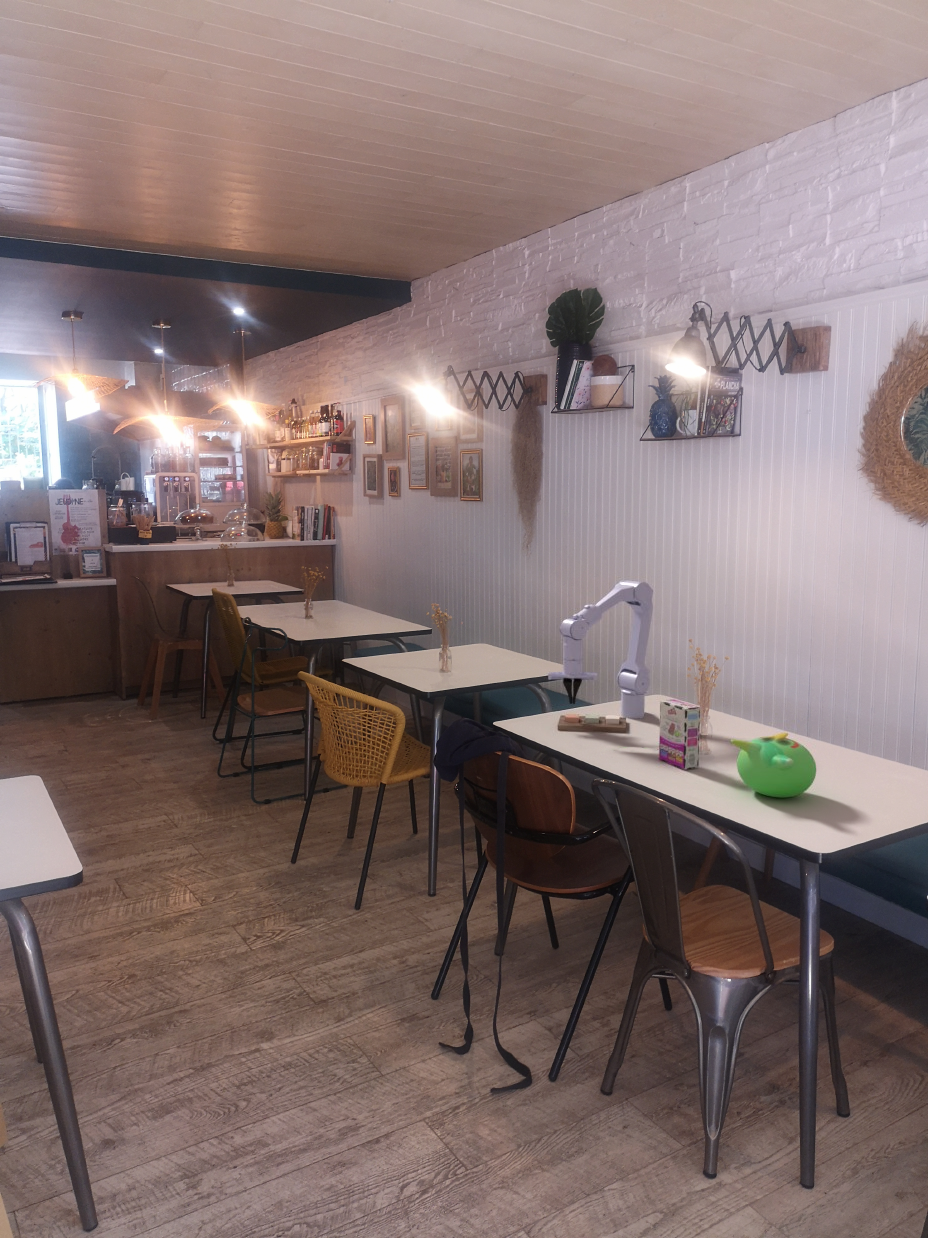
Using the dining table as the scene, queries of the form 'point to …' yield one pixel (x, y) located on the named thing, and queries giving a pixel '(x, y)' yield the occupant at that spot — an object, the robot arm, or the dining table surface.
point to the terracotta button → (572, 718)
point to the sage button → (592, 719)
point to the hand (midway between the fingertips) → (572, 703)
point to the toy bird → (775, 765)
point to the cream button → (612, 719)
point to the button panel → (592, 725)
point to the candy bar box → (679, 734)
